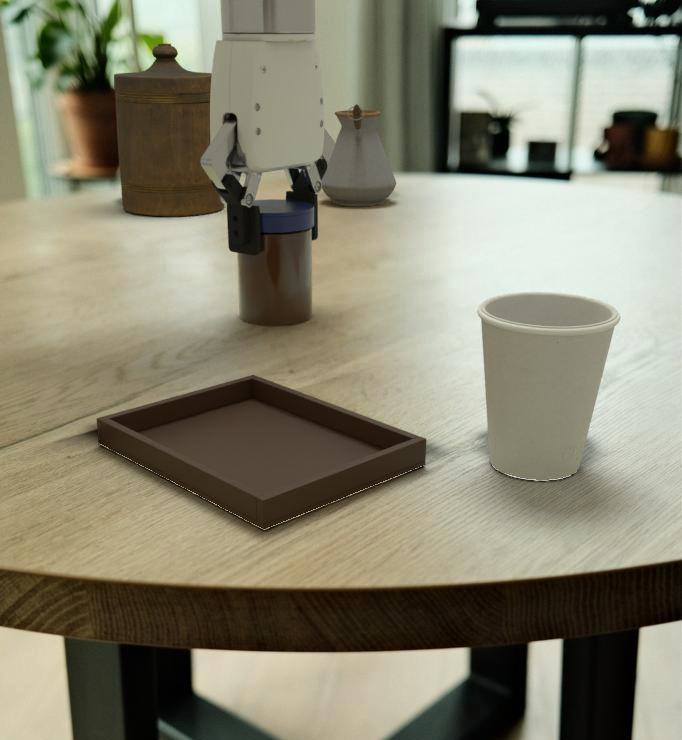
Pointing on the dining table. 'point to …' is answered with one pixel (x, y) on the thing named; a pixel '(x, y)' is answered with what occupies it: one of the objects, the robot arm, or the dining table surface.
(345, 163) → the coffee pot
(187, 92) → the wooden container
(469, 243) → the dining table surface
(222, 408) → the tray
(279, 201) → the lid
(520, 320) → the dixie cup
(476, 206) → the dining table surface
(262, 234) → the jar
